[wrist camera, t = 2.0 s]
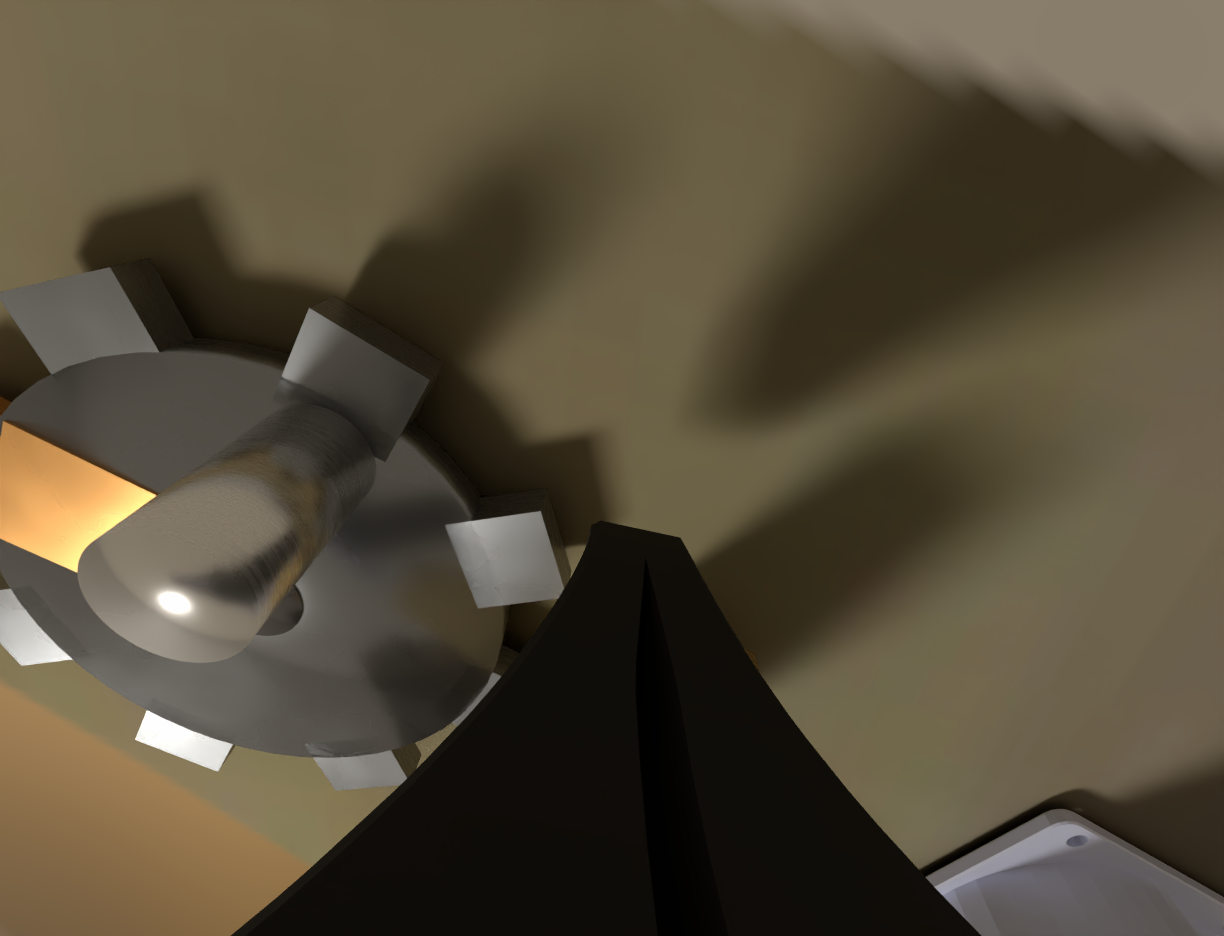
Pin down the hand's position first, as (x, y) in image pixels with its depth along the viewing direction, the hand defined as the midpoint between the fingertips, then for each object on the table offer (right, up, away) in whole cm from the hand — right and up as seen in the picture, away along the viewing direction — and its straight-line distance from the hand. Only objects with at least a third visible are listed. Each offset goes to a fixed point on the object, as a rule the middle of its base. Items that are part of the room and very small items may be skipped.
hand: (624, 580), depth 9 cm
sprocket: (-7, 0, +4) cm, 8 cm away
